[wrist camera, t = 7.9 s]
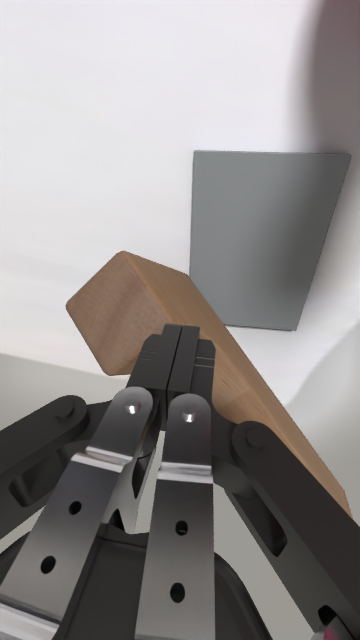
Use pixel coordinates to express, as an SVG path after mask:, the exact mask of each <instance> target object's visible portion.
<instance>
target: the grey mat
mask: <svg viewBox="0 0 360 640" xmlns="http://www.w3.org/2000/svg"><path fill="white" fill-rule="evenodd" d="M351 156H352V155H349V154H322V153H281V152H241V151H200V150H195V151H194V161H193V193H192V225H191V257H190V279H191V280H192V282H193V283H194V284H195V286H196V287H197V288H198V290H199V291H200V293H201V294H202V295H203V297H204V298H205V299H206V301H207V302H208V304H209V305H210V306H211V308H212V309H213V310H214V312H215V313H216V314H217V316H218V317H219V319H220V320H221V321H222V323H223V324H226V325H237V326H249V327H260V328H271V329H283V330H294V331H296V329H297V326H298V323H299V320H300V317H301V314H302V310H303V307H304V304H305V301H306V298H307V295H308V292H309V288H310V285H311V282H312V279H313V276H314V273H315V269H316V266H317V263H318V260H319V257H320V254H321V251H322V247H323V244H324V241H325V238H326V235H327V232H328V228H329V225H330V222H331V219H332V216H333V213H334V210H335V206H336V203H337V200H338V197H339V194H340V191H341V187H342V184H343V181H344V178H345V175H346V172H347V169H348V165H349V162H350V159H351Z"/></svg>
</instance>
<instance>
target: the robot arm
mask: <svg viewBox="0 0 360 640" xmlns="http://www.w3.org/2000/svg"><path fill="white" fill-rule="evenodd" d="M215 353H216V348H215V346H214V344H213V342H212V340H206V339H200V327H198V326H188V325H177V324H167V323H166V324H165V326H164V329H163V332H162V335H158V334H151V335H150V336H149V337H148V338H147V339H146V340H145V341H144V343H143V346H142V348H141V352H140V353H139V356H138V359H137V361H136V363H135V366H134V368H133V371H132V373H131V376H130V378H129V381H128V383H127V386H126V388H125V389H123V390H121V391H119V392H118V393H117V394H116V395H115V396H114V398H113V399H112V400H110V401H107V402H102V403H96V404H89V405H86V402H85V401H84V400H83V399H82V398H81V397H78V396H74V395H67V396H63V397H60V398H58V399H56V400H54V401H52V402H50V403H49V404H47V405H45V406H43V407H41V408H40V409H38V410H36V411H34V412H33V413H31V414H30V415H28V416H26V417H24V418H22V419H20V420H19V421H17V422H15V423H13V424H12V425H10V426H8V427H6V428H4V429H3V430H1V431H0V539H2V538H3V537H4V536H6V535H7V534H8V533H9V532H11V531H12V530H13V529H15V528H16V527H17V526H19V525H20V524H21V523H23V522H24V521H25V520H26V519H28V518H29V517H31V516H32V515H33V514H34V513H35V512H37V511H38V510H40V509H41V508H42V507H44V506H45V507H44V508H43V510H42V512H41V514H40V516H39V517H38V519H37V521H36V523H35V525H34V526H33V528H32V530H31V531H30V532H28V533H26V534H25V535H23V536H22V537H21V538H19V539H18V540H17V541H15V542H14V543H13V544H11V545H10V546H9V547H8V548H7V549H6V550H4V551H3V552H2V553H1V554H0V640H273V639H272V637H271V635H270V633H269V632H268V630H267V628H266V626H265V624H264V622H263V620H262V618H261V616H260V614H259V612H258V610H257V608H256V606H255V604H254V602H253V600H252V599H251V597H250V595H249V593H248V591H247V589H246V587H245V585H244V584H243V582H242V581H241V579H240V578H239V576H238V575H237V573H236V572H235V571H234V570H233V568H232V567H231V566H230V565H229V564H228V563H227V562H226V561H225V560H224V559H223V558H222V557H221V556H219V555H218V554H217V553H215V552H214V507H213V482H214V483H215V484H217V485H219V486H221V487H223V488H224V490H225V493H226V494H227V496H228V498H229V499H230V501H231V502H232V504H233V506H234V507H235V509H236V510H237V512H238V513H239V515H240V516H241V518H242V520H243V521H244V523H245V524H246V526H247V528H248V529H249V531H250V532H251V534H252V535H253V537H254V538H255V540H256V542H257V543H258V545H259V546H260V548H261V549H262V551H263V553H264V554H265V556H266V557H267V559H268V561H269V562H270V564H271V565H272V567H273V568H274V570H275V572H276V573H277V575H278V576H279V578H280V580H281V581H282V583H283V584H284V586H285V587H286V589H287V591H288V592H289V593H290V595H291V597H292V598H293V600H294V602H295V603H296V605H297V606H298V608H299V609H300V611H301V613H302V614H303V616H304V617H305V619H306V621H307V622H308V624H309V625H310V627H311V628H312V630H313V632H314V635H313V636H312V639H311V640H360V527H359V526H358V525H357V524H356V522H354V520H353V519H352V518H351V517H350V516H349V515H348V514H347V512H346V511H345V510H344V509H343V508H342V507H341V506H340V505H339V504H338V503H337V501H336V500H335V499H334V498H333V497H332V496H331V495H330V494H329V493H328V491H327V490H326V489H325V488H324V487H323V486H322V485H321V484H320V483H319V482H318V480H317V479H316V478H315V477H314V476H313V475H312V474H311V473H310V472H309V470H308V469H307V468H306V467H305V466H304V465H303V464H302V463H301V462H300V460H299V459H298V458H297V457H296V456H295V455H294V454H293V453H292V452H291V451H290V449H289V448H288V447H287V446H286V445H285V444H284V443H283V442H282V441H281V439H280V438H279V437H278V436H277V435H276V434H275V433H274V432H273V431H272V430H271V429H270V428H269V427H268V426H266V425H265V424H263V423H260V422H257V421H244V422H242V423H240V424H236V423H234V422H232V421H230V420H228V419H226V418H224V417H223V416H221V415H220V414H219V413H218V412H217V411H216V410H215V408H214V406H213V403H212V389H213V377H214V365H215ZM160 430H161V431H166V432H165V439H164V447H163V454H162V461H161V467H160V468H159V471H158V476H157V481H156V489H155V495H154V502H153V509H152V517H151V523H150V531H149V532H148V533H139V534H133V533H134V529H135V525H136V520H137V515H138V507H139V503H140V499H141V496H142V493H143V490H144V486H145V483H146V480H147V477H148V474H149V470H150V467H151V464H152V461H153V458H154V455H155V452H156V444H157V441H158V436H159V432H160ZM78 512H79V513H78Z"/></svg>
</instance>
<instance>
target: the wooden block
mask: <svg viewBox="0 0 360 640" xmlns="http://www.w3.org/2000/svg"><path fill="white" fill-rule="evenodd" d="M66 310H67V311H68V313H69V315H70V317H71V318H72V320H73V322H74V323H75V325H76V327H77V328H78V330H79V332H80V333H81V335H82V337H83V338H84V340H85V342H86V343H87V345H88V347H89V348H90V350H91V352H92V353H93V355H94V357H95V358H96V360H97V362H98V363H99V365H100V367H101V368H102V370H103V372H104V373H106V374H107V375H109V376H115V375H128V374H131V373H132V371H133V368H134V366H135V363H136V361H137V359H138V356H139V353H140V352H141V348H142V346H143V343H144V341H145V340H146V339H147V338H148V337H149V336H150V335H151V334H158V335H162V332H163V329H164V326H165V324H166V323H167V324H177V325H188V326H198V327H200V339H206V340H212V342H213V344H214V346H215V348H216V353H215V365H214V377H213V389H212V403H213V406H214V408H215V410H216V411H217V412H218V413H219V414H220V415H221V416H223V417H224V418H226V419H228V420H230V421H232V422H234V423H236V424H240V423H242V422H244V421H257V422H260V423H263V424H265V425H266V426H268V427H269V428H270V429H271V430H272V431H273V432H274V433H275V434H276V435H277V436H278V437H279V438H280V439H281V441H282V442H283V443H284V444H285V445H286V446H287V447H288V448H289V449H290V451H291V452H292V453H293V454H294V455H295V456H296V457H297V458H298V459H299V460H300V462H301V463H302V464H303V465H304V466H305V467H306V468H307V469H308V470H309V472H310V473H311V474H312V475H313V476H314V477H315V478H316V479H317V480H318V482H319V483H320V484H321V485H322V486H323V487H324V488H325V489H326V490H327V491H328V493H329V494H330V495H331V496H332V497H333V498H334V499H335V500H336V501H337V503H338V504H339V505H340V506H341V507H342V508H343V509H344V510H345V511H346V512H347V514H348V515H349V516H350V517H351V518H352V515H351V511H350V508H349V504H348V501H347V498H346V495H345V491H344V490H343V488H342V487H341V485H340V484H339V483H338V481H337V480H336V479H335V477H334V476H333V474H332V473H331V472H330V470H329V469H328V468H327V466H326V465H325V463H324V462H323V461H322V459H321V458H320V457H319V455H318V454H317V453H316V451H315V450H314V448H313V447H312V445H311V444H310V443H309V441H308V440H307V439H306V437H305V436H304V435H303V433H302V432H301V430H300V429H299V428H298V426H297V425H296V423H295V422H294V421H293V419H292V418H291V417H290V415H289V414H288V412H287V411H286V410H285V408H284V407H283V406H282V404H281V403H280V401H279V400H278V399H277V397H276V396H275V395H274V393H273V392H272V390H271V389H270V388H269V386H268V385H267V384H266V382H265V381H264V379H263V378H262V377H261V375H260V374H259V373H258V371H257V370H256V368H255V367H254V366H253V364H252V363H251V361H250V360H249V359H248V357H247V356H246V355H245V353H244V352H243V350H242V349H241V348H240V346H239V345H238V343H237V342H236V341H235V339H234V338H233V337H232V335H231V334H230V332H229V331H228V330H227V328H226V327H225V325H224V324H223V323H222V321H221V320H220V319H219V317H218V316H217V314H216V313H215V312H214V310H213V309H212V308H211V306H210V305H209V304H208V302H207V301H206V299H205V298H204V297H203V295H202V294H201V293H200V291H199V290H198V288H197V287H196V286H195V284H194V283H193V282H192V280H191V279H190V278H189V276H188V275H187V274H185V273H182V272H180V271H177V270H174V269H172V268H169V267H166V266H164V265H161V264H158V263H156V262H153V261H150V260H148V259H145V258H142V257H140V256H137V255H134V254H132V253H129V252H126V251H121V252H119V253H117V254H116V255H115V256H114V257H113V258H112V259H111V260H110V261H109V262H108V263H106V264H105V265H104V266H103V267H102V268H101V269H100V270H99V271H98V272H97V273H96V274H95V275H94V276H93V277H92V278H91V279H90V280H89V281H88V282H87V283H86V284H85V285H84V286H83V287H82V288H81V289H80V290H79V291H78V292H77V293H76V294H75V295H74V296H73V297H72V298H71V299H70V300H69V301H67V303H66ZM352 519H353V518H352Z"/></svg>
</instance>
